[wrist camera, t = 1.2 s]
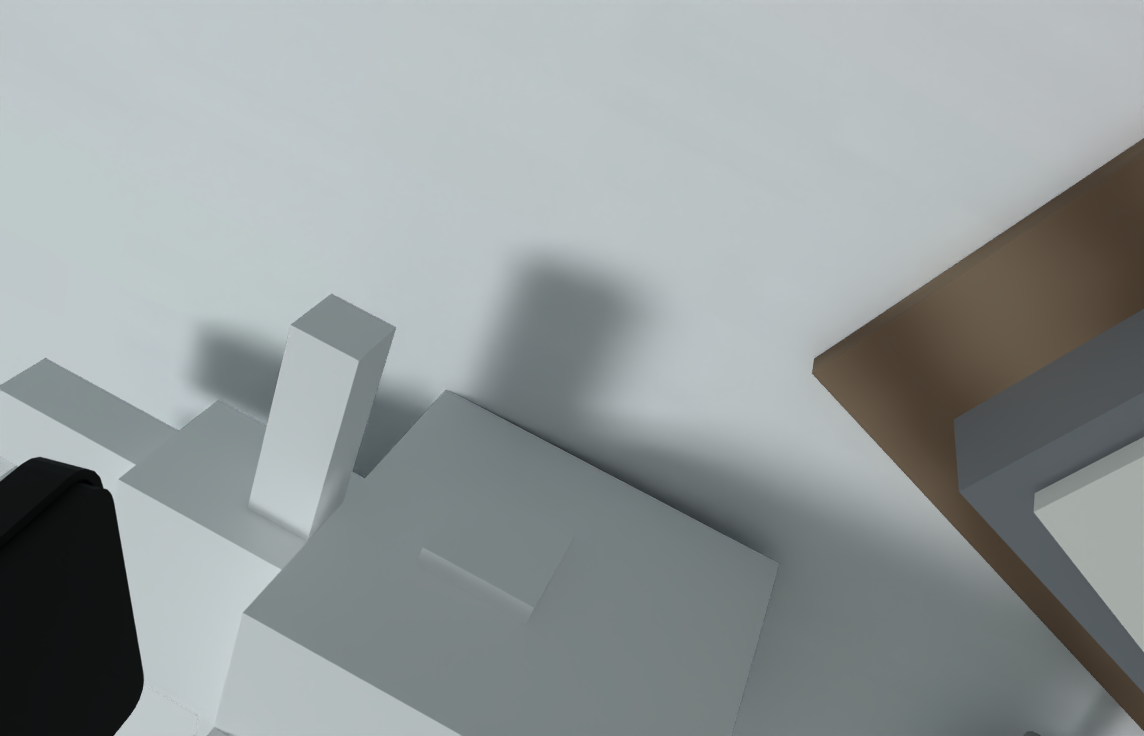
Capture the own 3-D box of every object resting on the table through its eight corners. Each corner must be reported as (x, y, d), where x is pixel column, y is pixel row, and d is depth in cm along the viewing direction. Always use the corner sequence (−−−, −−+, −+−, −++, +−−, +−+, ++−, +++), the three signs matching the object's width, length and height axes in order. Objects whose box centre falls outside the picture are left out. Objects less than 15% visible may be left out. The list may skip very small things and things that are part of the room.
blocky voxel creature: (183, 105, 40) (873, 455, 37) (118, 555, 53) (616, 836, 50) (-182, 248, 27) (811, 790, 24) (-144, 784, 41) (495, 1173, 38)
